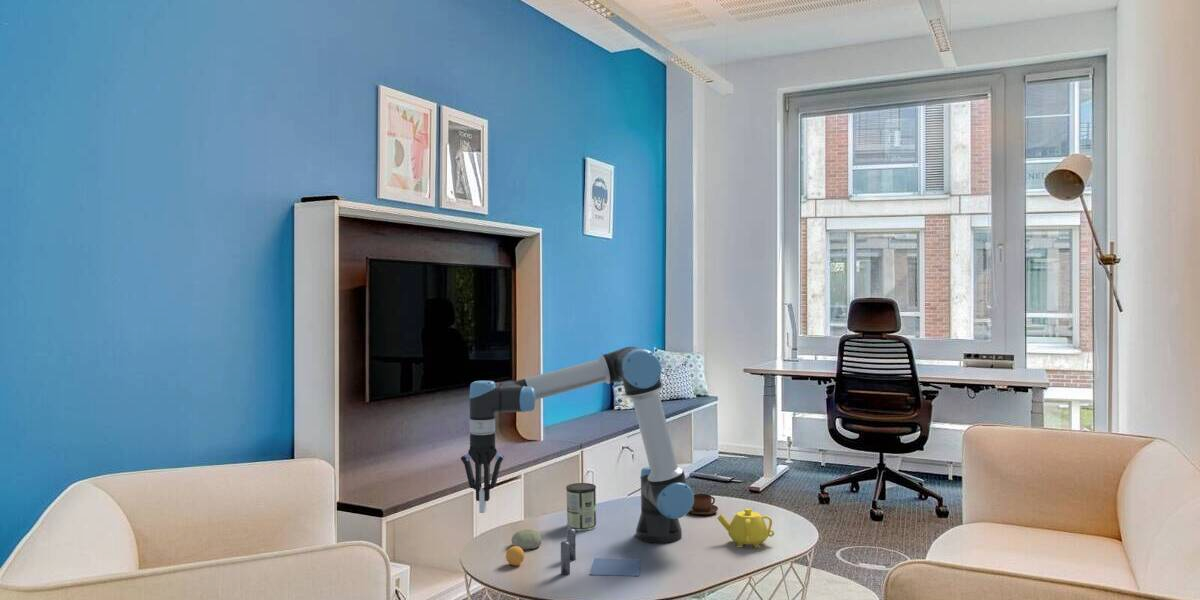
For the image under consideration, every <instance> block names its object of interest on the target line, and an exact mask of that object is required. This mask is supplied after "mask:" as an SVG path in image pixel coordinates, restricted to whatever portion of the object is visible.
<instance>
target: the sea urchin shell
mask: <svg viewBox="0 0 1200 600" xmlns="http://www.w3.org/2000/svg"><path fill="white" fill-rule="evenodd" d="M542 542H543V537H542V534H541V533H539V532H538V531H536V530H534V529H521V530H518V531H516V532H515V533H514V534H513V535H512V537H511V544H512V546H518V547H520V548H522V550H533V549H536V548H538V547H539V546H541V544H542Z"/></svg>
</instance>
